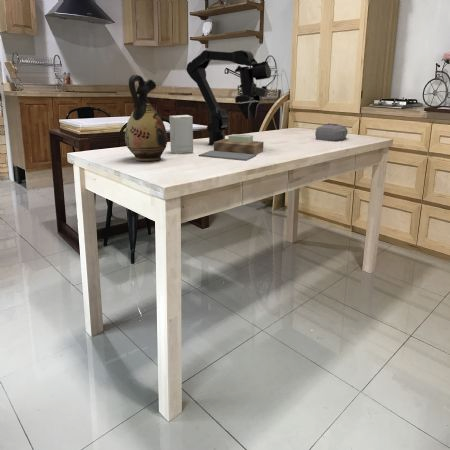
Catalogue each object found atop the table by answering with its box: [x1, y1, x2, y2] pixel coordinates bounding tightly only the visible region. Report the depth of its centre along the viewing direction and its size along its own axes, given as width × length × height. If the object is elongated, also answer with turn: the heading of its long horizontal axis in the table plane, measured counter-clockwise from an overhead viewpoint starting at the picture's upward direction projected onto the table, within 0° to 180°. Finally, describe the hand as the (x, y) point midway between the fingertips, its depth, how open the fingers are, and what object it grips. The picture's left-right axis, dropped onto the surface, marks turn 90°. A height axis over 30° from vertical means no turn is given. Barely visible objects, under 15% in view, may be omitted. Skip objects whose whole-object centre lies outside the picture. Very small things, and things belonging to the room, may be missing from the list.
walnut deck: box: [213, 138, 264, 156], centre depth 179 cm, size 18×12×4 cm, turn 68°
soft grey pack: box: [314, 122, 348, 142], centre depth 224 cm, size 15×8×20 cm
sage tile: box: [227, 133, 254, 143], centre depth 180 cm, size 9×6×2 cm, turn 68°
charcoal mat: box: [198, 150, 257, 162], centre depth 169 cm, size 20×12×1 cm, turn 68°
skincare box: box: [169, 114, 194, 154], centre depth 172 cm, size 8×6×15 cm
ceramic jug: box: [124, 74, 168, 162], centre depth 152 cm, size 17×15×30 cm
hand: (251, 118), depth 185 cm, fingers open, 9 cm apart
